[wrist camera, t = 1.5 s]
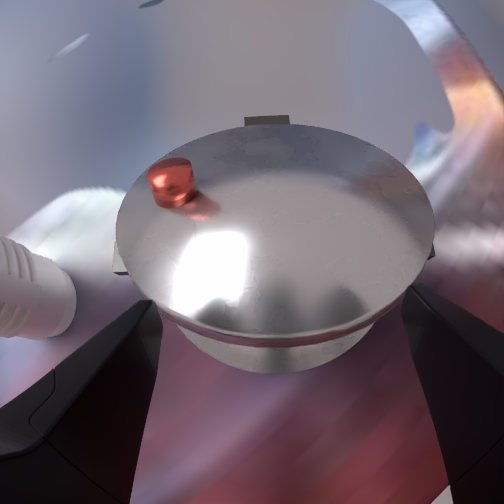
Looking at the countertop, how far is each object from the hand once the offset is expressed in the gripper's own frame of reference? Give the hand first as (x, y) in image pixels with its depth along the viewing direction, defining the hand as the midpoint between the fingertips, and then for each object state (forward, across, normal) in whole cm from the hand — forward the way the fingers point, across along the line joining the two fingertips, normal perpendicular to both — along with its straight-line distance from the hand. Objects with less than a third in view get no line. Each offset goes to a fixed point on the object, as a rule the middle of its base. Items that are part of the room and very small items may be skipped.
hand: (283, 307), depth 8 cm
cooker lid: (+7, 0, 0) cm, 7 cm away
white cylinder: (+11, +19, +8) cm, 23 cm away
